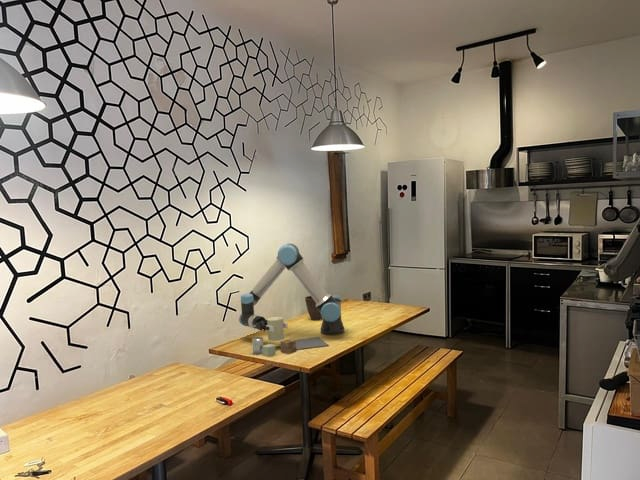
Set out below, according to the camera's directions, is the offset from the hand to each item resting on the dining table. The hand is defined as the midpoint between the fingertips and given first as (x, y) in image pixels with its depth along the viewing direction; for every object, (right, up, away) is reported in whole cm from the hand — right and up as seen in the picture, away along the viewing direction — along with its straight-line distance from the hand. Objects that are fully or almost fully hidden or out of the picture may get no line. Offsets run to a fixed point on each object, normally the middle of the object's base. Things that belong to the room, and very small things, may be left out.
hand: (280, 327), depth 262 cm
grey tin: (-12, -13, -4) cm, 18 cm away
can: (-3, -7, +4) cm, 9 cm away
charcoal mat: (+15, -11, +10) cm, 21 cm away
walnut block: (+5, -13, -4) cm, 14 cm away
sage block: (-5, -13, -8) cm, 17 cm away
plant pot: (+19, -8, +74) cm, 77 cm away
